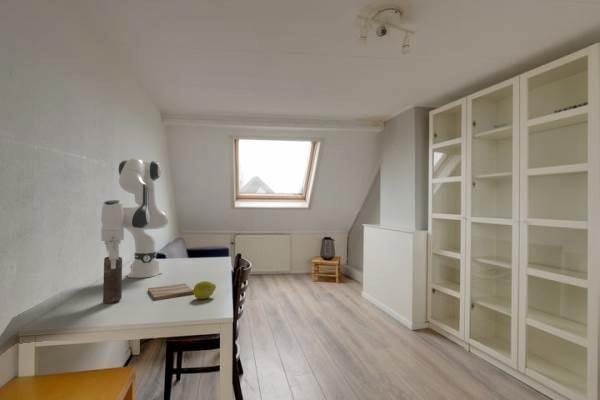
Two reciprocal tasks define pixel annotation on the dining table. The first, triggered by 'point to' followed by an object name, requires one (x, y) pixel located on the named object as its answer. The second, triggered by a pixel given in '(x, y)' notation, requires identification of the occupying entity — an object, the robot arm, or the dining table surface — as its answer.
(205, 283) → the lemon
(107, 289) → the wooden log
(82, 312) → the dining table surface
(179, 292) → the walnut board
